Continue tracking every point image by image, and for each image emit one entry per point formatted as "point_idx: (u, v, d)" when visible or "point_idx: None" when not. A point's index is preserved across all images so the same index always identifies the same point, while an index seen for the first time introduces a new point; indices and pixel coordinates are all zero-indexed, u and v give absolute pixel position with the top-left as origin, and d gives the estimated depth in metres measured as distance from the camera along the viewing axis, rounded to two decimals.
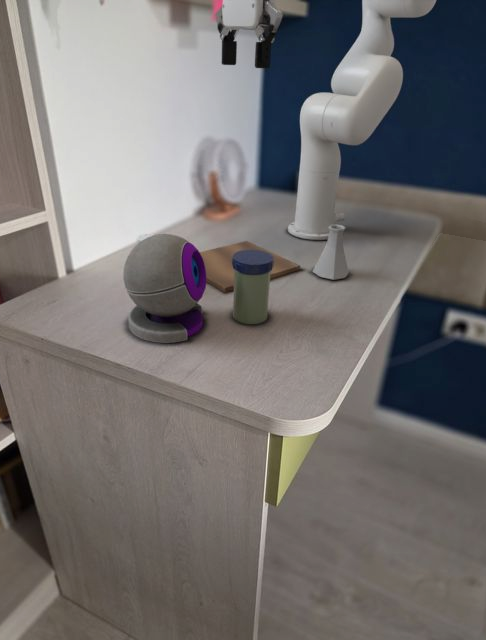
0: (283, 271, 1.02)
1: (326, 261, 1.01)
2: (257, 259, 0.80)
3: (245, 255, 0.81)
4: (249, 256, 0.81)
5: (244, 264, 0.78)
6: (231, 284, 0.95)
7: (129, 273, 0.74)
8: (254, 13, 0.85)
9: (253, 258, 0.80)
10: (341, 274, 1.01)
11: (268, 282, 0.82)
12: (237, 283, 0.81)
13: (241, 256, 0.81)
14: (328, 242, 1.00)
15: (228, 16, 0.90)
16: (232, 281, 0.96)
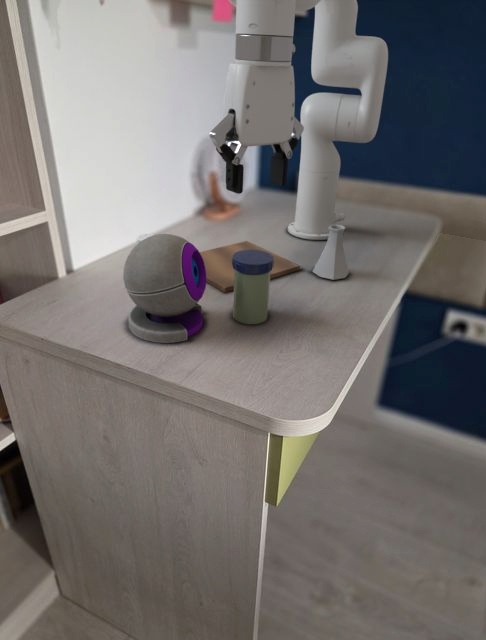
0: (283, 271, 1.02)
1: (326, 261, 1.01)
2: (257, 259, 0.80)
3: (245, 255, 0.81)
4: (249, 256, 0.81)
5: (244, 264, 0.78)
6: (231, 284, 0.95)
7: (129, 273, 0.74)
8: (291, 126, 0.71)
9: (253, 258, 0.80)
10: (341, 274, 1.01)
11: (268, 282, 0.82)
12: (237, 283, 0.81)
13: (241, 256, 0.81)
14: (328, 242, 1.00)
15: (255, 133, 0.68)
16: (232, 281, 0.96)
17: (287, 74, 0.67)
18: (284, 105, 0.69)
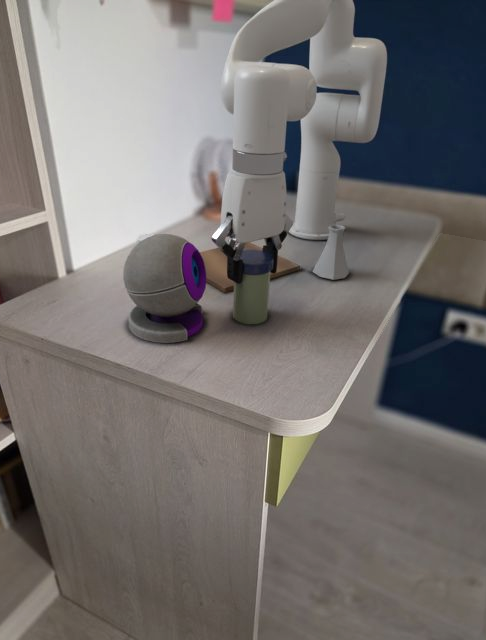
0: (283, 271, 1.02)
1: (326, 261, 1.01)
2: (257, 259, 0.80)
3: (245, 255, 0.81)
4: (249, 256, 0.81)
5: (244, 264, 0.78)
6: (231, 284, 0.95)
7: (129, 273, 0.74)
8: (284, 221, 0.79)
9: (253, 258, 0.80)
10: (341, 274, 1.01)
11: (268, 282, 0.82)
12: None
13: (241, 256, 0.81)
14: (328, 242, 1.00)
15: (251, 232, 0.75)
16: (232, 281, 0.96)
17: (279, 181, 0.74)
18: (277, 206, 0.76)
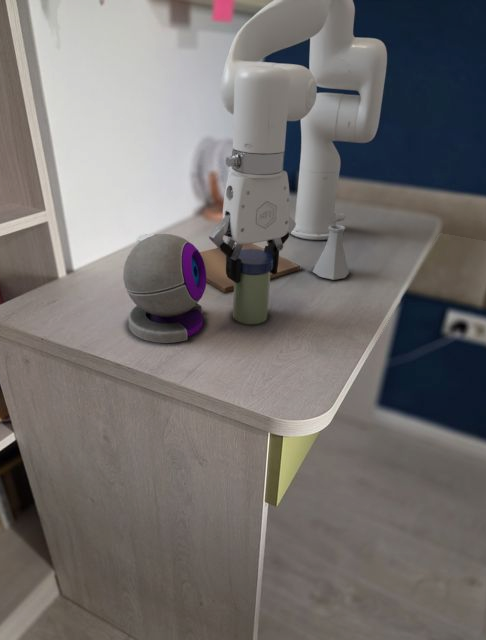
0: (283, 271, 1.02)
1: (326, 261, 1.01)
2: (249, 253, 0.82)
3: (260, 257, 0.80)
4: (256, 256, 0.80)
5: (262, 251, 0.83)
6: (231, 284, 0.95)
7: (129, 273, 0.74)
8: None
9: (253, 254, 0.81)
10: (341, 274, 1.01)
11: (268, 282, 0.82)
12: (237, 283, 0.81)
13: (264, 257, 0.81)
14: (328, 242, 1.00)
15: None
16: (232, 281, 0.96)
17: None
18: None
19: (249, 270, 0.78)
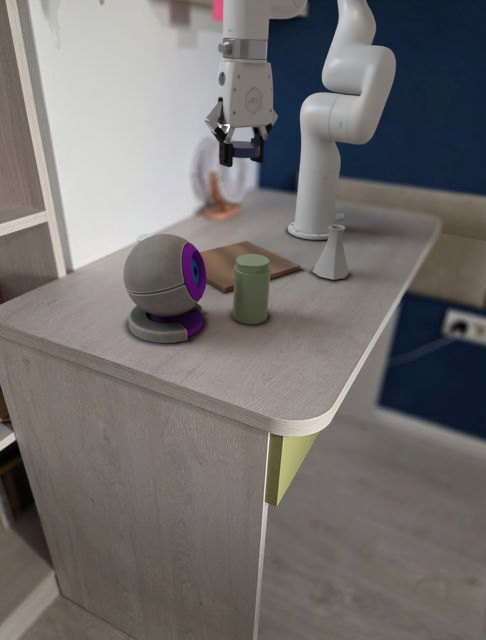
0: (283, 271, 1.02)
1: (326, 261, 1.01)
2: (238, 143, 0.92)
3: (248, 145, 0.91)
4: (245, 144, 0.91)
5: None
6: (231, 284, 0.95)
7: (129, 273, 0.74)
8: None
9: (241, 143, 0.92)
10: (341, 274, 1.01)
11: (268, 282, 0.82)
12: (237, 283, 0.81)
13: (252, 144, 0.91)
14: (328, 242, 1.00)
15: None
16: (232, 281, 0.96)
17: None
18: None
19: (240, 154, 0.89)
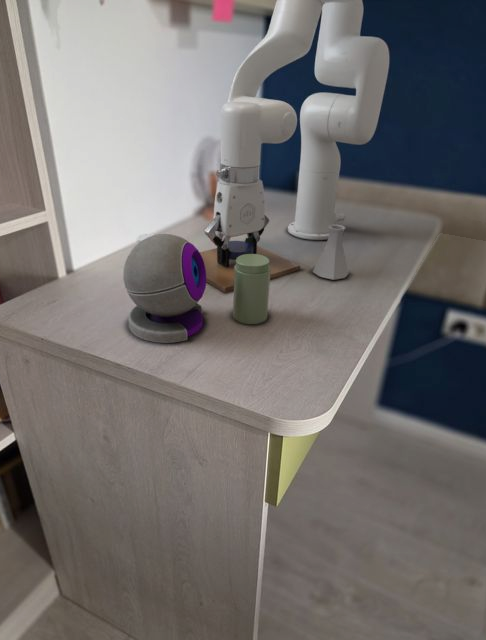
0: (283, 271, 1.02)
1: (326, 261, 1.01)
2: (234, 244, 1.04)
3: (243, 247, 1.03)
4: (240, 246, 1.03)
5: (244, 242, 1.06)
6: (231, 284, 0.95)
7: (129, 273, 0.74)
8: None
9: (237, 245, 1.04)
10: (341, 274, 1.01)
11: (268, 282, 0.82)
12: (237, 283, 0.81)
13: (246, 246, 1.03)
14: (328, 242, 1.00)
15: None
16: (232, 281, 0.96)
17: None
18: None
19: (235, 257, 1.01)
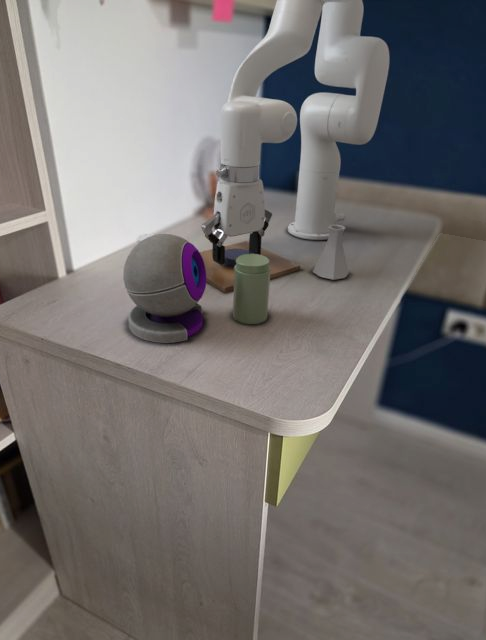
0: (283, 271, 1.02)
1: (326, 261, 1.01)
2: (234, 252, 1.05)
3: (243, 254, 1.04)
4: (240, 254, 1.04)
5: None
6: (231, 284, 0.95)
7: (129, 273, 0.74)
8: None
9: (237, 252, 1.05)
10: (341, 274, 1.01)
11: (268, 282, 0.82)
12: (237, 283, 0.81)
13: None
14: (328, 242, 1.00)
15: None
16: (232, 281, 0.96)
17: None
18: None
19: (235, 264, 1.02)
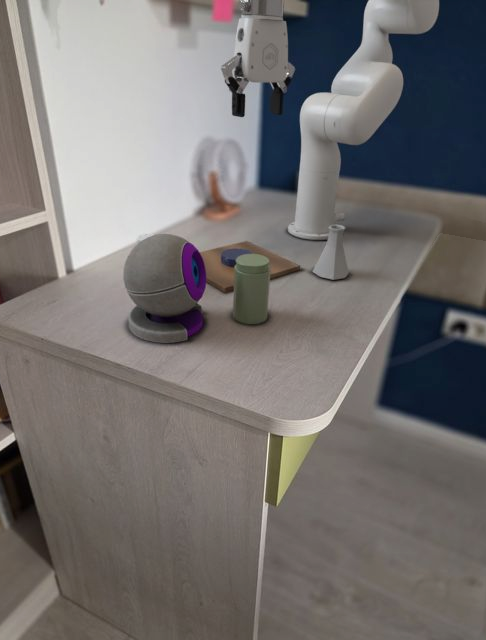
0: (283, 271, 1.02)
1: (326, 261, 1.01)
2: (234, 252, 1.05)
3: (243, 254, 1.04)
4: (240, 254, 1.04)
5: None
6: (231, 284, 0.95)
7: (129, 273, 0.74)
8: None
9: (237, 252, 1.05)
10: (341, 274, 1.01)
11: (268, 282, 0.82)
12: (237, 283, 0.81)
13: None
14: (328, 242, 1.00)
15: None
16: (232, 281, 0.96)
17: None
18: None
19: (235, 264, 1.02)
